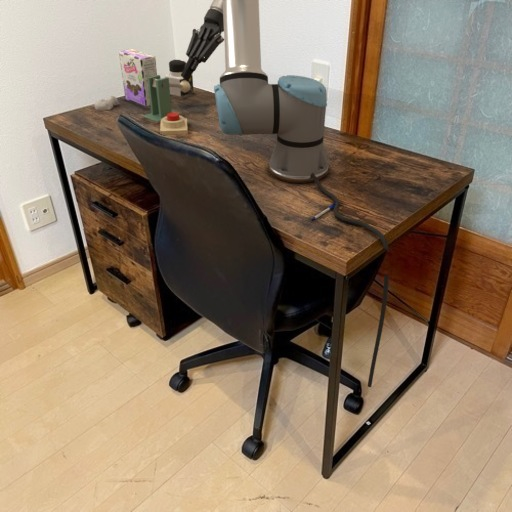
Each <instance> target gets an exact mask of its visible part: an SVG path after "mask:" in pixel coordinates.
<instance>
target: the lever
mask: <svg viewBox="0 0 512 512" xmlns="http://www.w3.org/2000/svg"><path fill="white" fill-rule="evenodd" d="M156 80H158V79H153V85H152V87H156ZM169 87H177V88H180V90H181V91H182V92H188V91H189V90H190V84H189V83H188V82H187V81H182V82H181V83H180V84H174V83H169Z"/></svg>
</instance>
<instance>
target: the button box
mask: <svg viewBox="0 0 512 512" xmlns="http://www.w3.org/2000/svg"><path fill="white" fill-rule="evenodd" d="M159 125H160V127H159V134H162V135H161V136H173V135H176V136H177V135H188V134H189V132H188V131H189V130H188V118H187V117H186V118H185V117H184V116H183V115H179V120H178V121H168V120H167V116H166V117H164V118H162V119H161V121H160V124H159Z"/></svg>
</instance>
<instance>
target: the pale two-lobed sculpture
mask: <svg viewBox="0 0 512 512" xmlns="http://www.w3.org/2000/svg"><path fill="white" fill-rule="evenodd" d="M93 105H94V106H93V107H94V109H95V110H96V111H99V112H105V111H111V110H112V109H114V107H118V105H119V100H118V98H117V97H116V96H114V95H110V97H109V98H107V99H104V98H103V99H101V100H97V101H95V102H94V103H93Z"/></svg>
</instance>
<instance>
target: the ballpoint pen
mask: <svg viewBox="0 0 512 512" xmlns="http://www.w3.org/2000/svg"><path fill="white" fill-rule="evenodd" d="M340 203H341V202H340V201H339V205H340ZM334 207H335V202H333V203H332V204H331V205H330V206H328V207H327V208H326V209H324V210H322V211H321V212H319V213H318V214H316V215H315V216H313V217H312V218H311V221H315V220H317V219H318V218H320V217H322V216H323V215H324V214H326V213H327V212H329V211H331V210H334Z"/></svg>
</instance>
